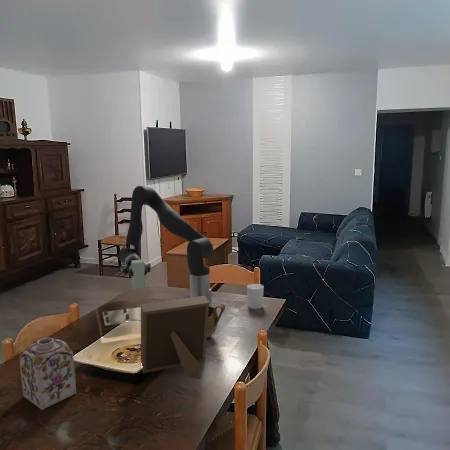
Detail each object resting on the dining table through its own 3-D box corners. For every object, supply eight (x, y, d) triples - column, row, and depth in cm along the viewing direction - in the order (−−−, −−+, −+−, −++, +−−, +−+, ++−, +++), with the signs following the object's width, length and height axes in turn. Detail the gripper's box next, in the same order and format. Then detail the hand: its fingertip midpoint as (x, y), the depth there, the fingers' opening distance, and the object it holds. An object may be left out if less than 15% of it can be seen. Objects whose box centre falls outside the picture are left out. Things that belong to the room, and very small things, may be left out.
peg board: (155, 308, 203) (154, 301, 203) (161, 320, 188) (161, 313, 188) (102, 315, 195) (102, 308, 195) (105, 328, 181) (104, 321, 180)
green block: (143, 285, 194) (142, 259, 192) (145, 288, 190) (144, 262, 187) (132, 286, 193) (131, 260, 190) (133, 289, 188) (132, 263, 186)
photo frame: (140, 367, 148) (137, 298, 144) (200, 356, 156) (199, 290, 151) (149, 390, 135) (146, 314, 130) (214, 376, 142) (214, 305, 138)
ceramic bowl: (231, 333, 175) (231, 298, 172) (215, 351, 160) (214, 313, 157) (182, 325, 183) (181, 291, 181) (162, 342, 168) (161, 305, 165)
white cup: (245, 308, 202) (245, 288, 200) (249, 302, 209) (249, 283, 207) (261, 310, 199) (261, 289, 198) (265, 304, 207) (265, 284, 205)
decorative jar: (57, 381, 140) (53, 329, 137) (77, 393, 133) (73, 339, 130) (21, 397, 131) (15, 342, 128) (40, 411, 124) (35, 353, 121)
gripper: (117, 257, 200) (121, 266, 184) (148, 254, 205) (155, 263, 189) (118, 272, 201) (122, 283, 186) (149, 269, 206) (155, 279, 190)
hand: (139, 273), depth 187 cm, fingers closed on green block, 5 cm apart
